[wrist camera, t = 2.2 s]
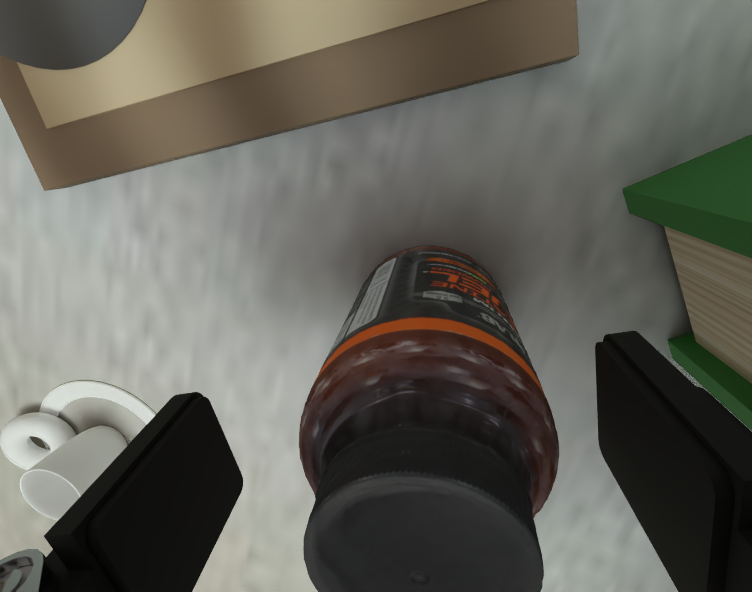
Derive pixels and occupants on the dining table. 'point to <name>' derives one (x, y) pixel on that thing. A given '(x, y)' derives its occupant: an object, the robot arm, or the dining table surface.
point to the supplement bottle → (427, 438)
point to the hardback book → (710, 264)
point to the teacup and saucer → (65, 447)
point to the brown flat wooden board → (242, 69)
